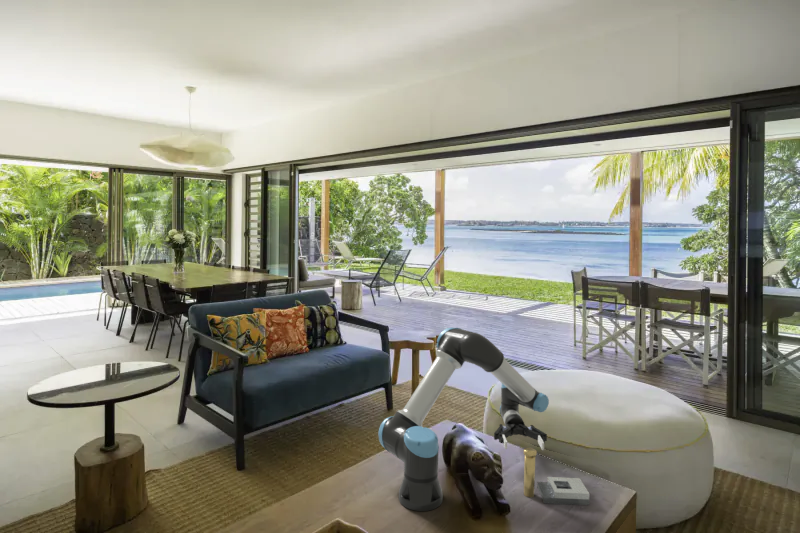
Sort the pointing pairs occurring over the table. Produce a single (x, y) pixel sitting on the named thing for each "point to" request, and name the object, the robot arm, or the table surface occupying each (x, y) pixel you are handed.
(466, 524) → the table surface
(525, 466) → the brass pin
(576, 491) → the square hole block
